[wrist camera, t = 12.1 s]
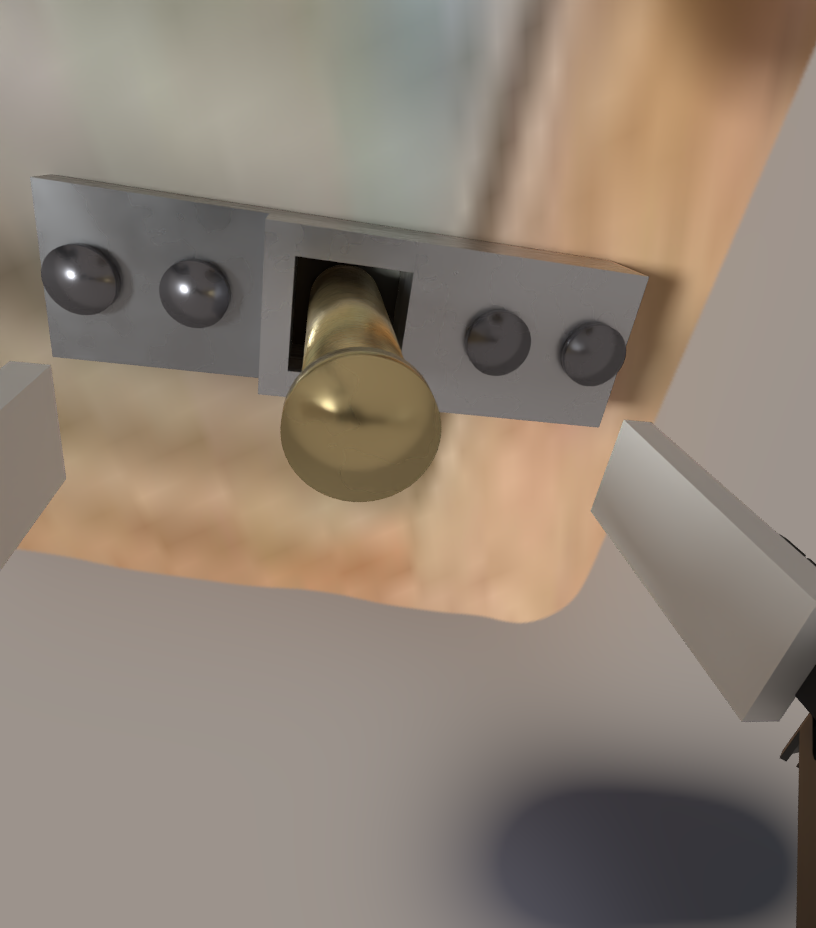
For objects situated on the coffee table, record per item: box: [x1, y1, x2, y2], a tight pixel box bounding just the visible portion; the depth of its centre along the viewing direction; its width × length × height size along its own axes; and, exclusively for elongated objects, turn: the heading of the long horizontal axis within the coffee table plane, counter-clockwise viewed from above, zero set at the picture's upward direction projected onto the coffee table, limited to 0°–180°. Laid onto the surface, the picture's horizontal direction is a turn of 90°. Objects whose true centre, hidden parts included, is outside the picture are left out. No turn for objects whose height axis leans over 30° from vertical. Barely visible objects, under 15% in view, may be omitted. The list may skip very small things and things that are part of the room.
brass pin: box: [281, 265, 441, 502], centre depth 22 cm, size 4×4×15 cm
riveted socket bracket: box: [30, 175, 649, 427], centre depth 26 cm, size 25×7×5 cm, turn 81°
